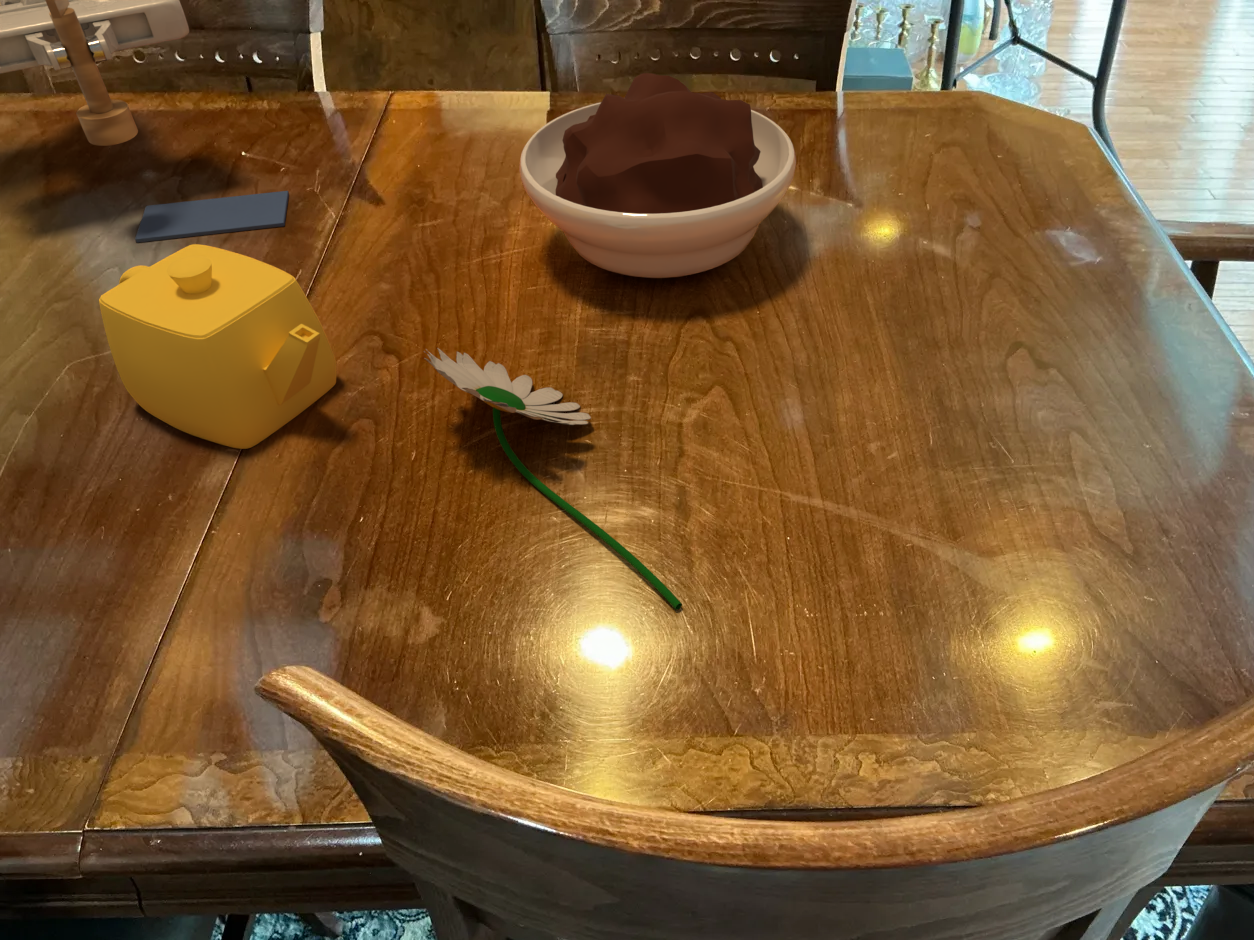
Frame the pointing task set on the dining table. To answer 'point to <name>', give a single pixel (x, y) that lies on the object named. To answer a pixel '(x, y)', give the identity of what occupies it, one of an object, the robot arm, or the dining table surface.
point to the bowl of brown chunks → (658, 177)
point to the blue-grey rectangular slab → (213, 216)
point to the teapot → (217, 344)
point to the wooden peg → (91, 83)
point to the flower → (518, 398)
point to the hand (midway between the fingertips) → (80, 56)
